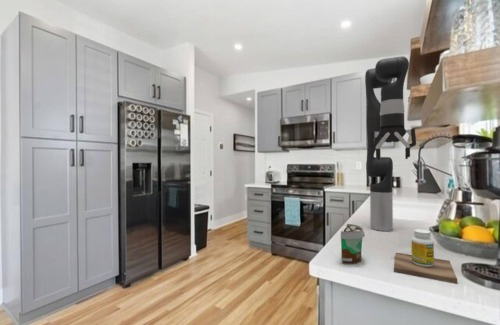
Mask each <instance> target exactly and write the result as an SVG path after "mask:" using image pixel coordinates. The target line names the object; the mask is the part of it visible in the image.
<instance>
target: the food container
mask: <svg viewBox="0 0 500 325" xmlns="http://www.w3.org/2000/svg"><path fill="white" fill-rule="evenodd" d="M365 236H366V235H365V229H363V227H362V226H359V225H357V224H352V223H346V228H344V229H343V231H340V245H341V248H340V249H341V251H340V252H341V264H345V263H346V264H348V265H351V264H353V265H354V264H359V263H361V261H362V251H363V238H364V237H365Z"/></svg>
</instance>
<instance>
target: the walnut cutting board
mask: <svg viewBox="0 0 500 325" xmlns="http://www.w3.org/2000/svg"><path fill="white" fill-rule="evenodd" d="M393 272H394V273H399V274H405V275H410V276H416V277H421V278H425V279H431V280H435V281H440V282H447V283H452V284H458V277H457V275H456V273H455V271H454V268H453V266H452V264H451V261H450V260H447V259H441V258H440V259H439V258H435V257H434V265H433V266H432V267H423V266H418V265H416V264H414V263H413V262H412V254H408V253H401V252H395V256H394V264H393Z"/></svg>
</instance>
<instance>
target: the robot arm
mask: <svg viewBox="0 0 500 325" xmlns="http://www.w3.org/2000/svg"><path fill="white" fill-rule="evenodd" d="M409 66H410V62H409V59H408V58H407V57H406V56H396V57H388V58H387V57H386V58H382V59H379V60H378V61H377V62H376V64H375V67H374V68H368V69H367V70H366V71H365V76H364V78H365V79H364V80H365V82H364V83H365V85H364V86H365V95H366V96H365V97H366V140H367V141H366V142H367V145H366V146H367V147H366V166H365V167H366V175H367V176H368V177H370V178H371V177H372V178H384V179H382V180H381V181H380V182H377V183H374V184H371V185H370V186H369V194H370V195H369V200H370V202H369V204H370V207H369V208H370V213H369V215H370V228H371V230H375V231H380V232H391V231H393V230H394V228H393V227H394V224H393V223H394V219H393V218H394V214H393V213H394V210H393V208H394V207H393V203H394V202H393V173H394V172H393V170H394V164H393V162H394V161H393V159H392V158H391V157H389V156H382V155H381V147H382V146H383V145H384V144H385V143H387V144H389V143H399V142H400V143H401V144H402V145H404V146H405V149H404V150H405V151H404V152H405V155H404V156H405V160H408V159H409V158H411V148H413V147H416V146H417V141H416V140H417V139H416V129H415V128H411V129H406V128H405V103H404V87H405V86H404V85H405V80H406V78H407V73H408V70H409V68H410V67H409ZM393 79H396V80H395V81H394V82H393ZM374 89H380V101H379V99H378V98H377V97H376V94H375V90H374ZM406 134H407V135H408V136H411V139H410V140H411V143H408V142H407V141H406V139H404V138H403V137H404V136H405V135H406Z"/></svg>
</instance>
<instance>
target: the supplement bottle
mask: <svg viewBox="0 0 500 325" xmlns="http://www.w3.org/2000/svg"><path fill="white" fill-rule="evenodd" d="M431 233H432V232H431V231H430V230H426V229H419V228H417V229H414V230H413V234H414V236H412V237H411V255H412V262H413V263H414V264H416V265H418V266H423V267H432V266H433V265H434V258H435V257H434V256H435V254H434V253H435V251H434V250H435V249H434V248H435V246H434V244H435V242H434V240H433V239H432V238H431V237H432V235H431Z"/></svg>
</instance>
